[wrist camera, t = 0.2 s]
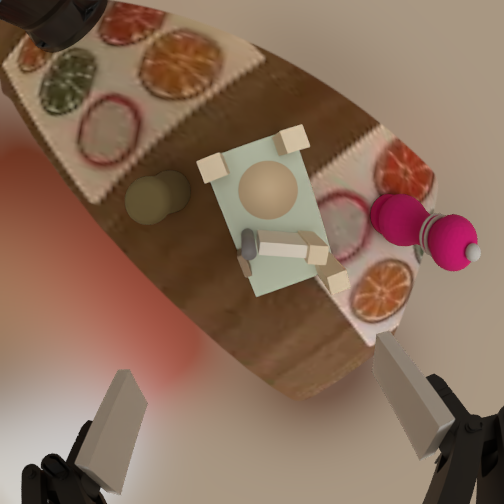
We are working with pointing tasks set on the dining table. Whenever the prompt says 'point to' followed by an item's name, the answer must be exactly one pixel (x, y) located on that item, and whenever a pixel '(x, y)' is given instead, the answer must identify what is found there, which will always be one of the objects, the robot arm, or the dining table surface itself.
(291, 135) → the stand
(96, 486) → the robot arm
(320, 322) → the dining table surface
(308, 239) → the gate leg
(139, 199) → the pepper shaker
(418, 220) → the pepper mill
